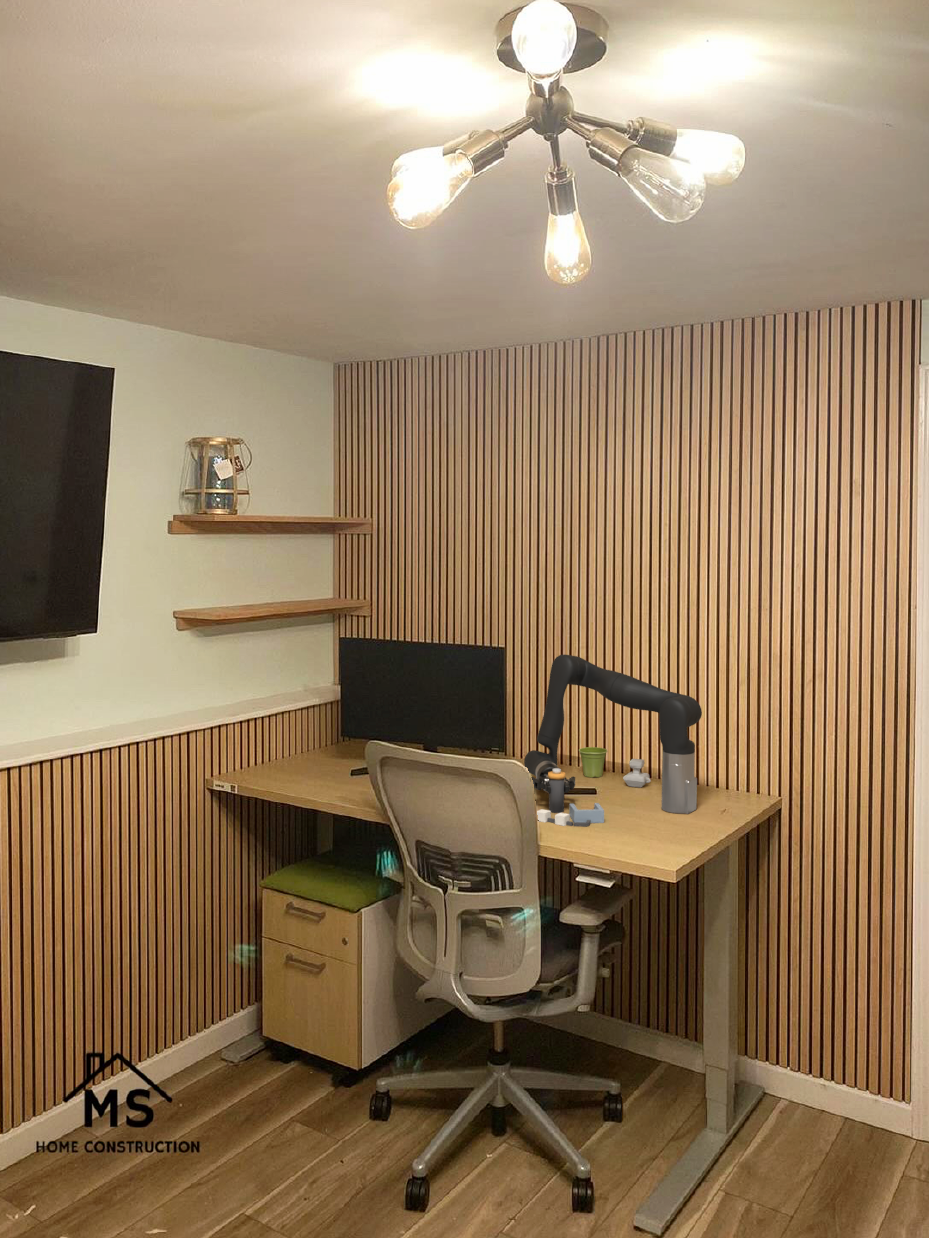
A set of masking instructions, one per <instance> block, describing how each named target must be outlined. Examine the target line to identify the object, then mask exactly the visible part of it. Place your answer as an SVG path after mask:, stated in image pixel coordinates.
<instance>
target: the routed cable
mask: <svg viewBox="0 0 929 1238" xmlns="http://www.w3.org/2000/svg"><path fill="white" fill-rule="evenodd" d="M536 811H537V815H538V820H539V821H538V822H541V823H547V822H548V823H553V824H555V825H557V826H563V827H566V826H569V827H590V825H591V824H592V823H591V820H587V821H586V822H573V821H571V817H570V814H569V813H566V812H562V813H555V814H554V818H553V817H552V812H551V811H549V809H543V808H541V809H538V810H536Z"/></svg>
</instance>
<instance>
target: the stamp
mask: <svg viewBox="0 0 929 1238" xmlns="http://www.w3.org/2000/svg"><path fill="white" fill-rule="evenodd" d="M645 764H646V763H645V759H641V758H632V759H631V760H630V761H629V768H630V769H632V771H630V772H628V773H627V774H626V775H624V776H623V777H622V778H623V782H625V783H626V785H627V786H628V787H631V788H642V787H644V786H645V785H646V784H649V783H651V779H650V774H649V773H647V772H641V769H642V768H643V767H644V765H645Z"/></svg>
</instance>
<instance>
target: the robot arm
mask: <svg viewBox="0 0 929 1238" xmlns="http://www.w3.org/2000/svg"><path fill="white" fill-rule="evenodd" d="M568 685H571V686H579V687H582V688H587V689H591V690H593V691H595V692H598V693H599V694H600V695H601V696H603V697H604V698H605V699H607V700H608V701H610V702H613V703H615V704H617V705H619V706H622V707H626V708H629V709H633V710H639V711H647V712H648V711H649V712H652V713H653V712H654V713H658V714H659V716H658V718H659V719H658V720H659V739H660V743H661V746H662V756H661V757H662V760H661V761H662V763H661V764H662V765H661V766H662V767H661V769H662V772H661V810H663V811H665V812H666V813H667V812H668V813H672V814H686V815H688V814H691V813H693V812H694V811H696V810H697V797H698V796H697V795H698V794H697V792H698V789H697V788H698V778H697V777H696V776H695V759H696V758H695V757H696V754H695V753H696V744H695V742H694V741H692V740H690V739H689V736H688V735H689V734H688V728H689V727H692V726H694V725H696V724H697V723H698V722H699V721H700V720H701V718H702V716H703V715H702V714H703V710H702V707H701V705H700V703H699V702H698V701H697V699H695V698H694V697H692V696H690V695H686V694H681V693H678V692H675V691H674V692H673V691H669V690H666V689H663V688H661V687H658V686H656V685H653V684H651V683H647V682H645V681H642V680H640V679H637V678H636V677H633V676H631V675H628V674H625V673H621V672H618V671H615V670H610V669H606V668H602V667H600V666H598V665H596V664H594V663H592V662H590V661H588V660H586V659H584V658H582V657H579V656H577V655H571V654H570V655H569V654H560V655H558V656H556V657H555V658H554V660H553V661H552V664H551V667H550V672H549V681H548V688H547V692H546V703H545V706H544V712H543V716H542V720H541V722H540V723H541V724H540V726H539V729H538V733H537V738H536V741H537V743H538V744H540V745H541V746H544V747H545V748H547V749H548V753H546V752H543V751H538V750H529V751H528V752H527V753H526V754H525V757H524V760H523V762H524V763H523V765H524V768H525V767H527V768H528V771H529V772H528V771H527V772H528V773H529V774H531V775H533V776H535V777H533V776H532V777H530V779H531V778H532V780H533V784H534V789H535V790H537V791H542V790H543V791H545V792H546V793H547V794H549V793H551V786H550V784H549V778H548V772H551V771H553V768H559V766H558V751H559V749H558V748H559V743H560V738H561V736H562V733H563V729H564V724H565V711H564V710H565V709H564V698H565V693H566V690H567V687H568ZM575 787H576V776H571V777H568V778H567V777H566V776H565V778H564V794H568V793H569V792H570V791H571V790H574V789H575Z"/></svg>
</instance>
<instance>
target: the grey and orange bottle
mask: <svg viewBox="0 0 929 1238" xmlns="http://www.w3.org/2000/svg"><path fill="white" fill-rule="evenodd" d="M565 777H566V772H564V771H562V769H561V768H559V767H558V768H553V771H551V772H548V778H549V784H550V786H551V793H548V811H551V814H552V813H553V814H558V813H565V792H564V778H565Z"/></svg>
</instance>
